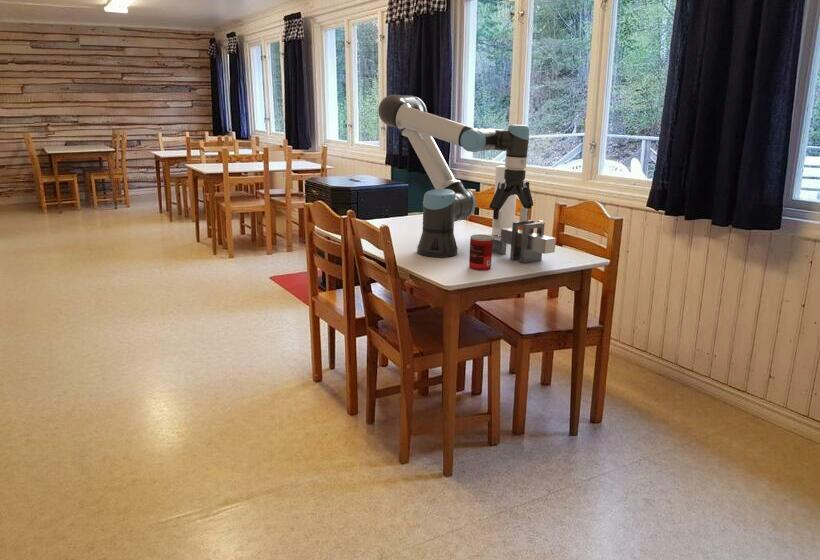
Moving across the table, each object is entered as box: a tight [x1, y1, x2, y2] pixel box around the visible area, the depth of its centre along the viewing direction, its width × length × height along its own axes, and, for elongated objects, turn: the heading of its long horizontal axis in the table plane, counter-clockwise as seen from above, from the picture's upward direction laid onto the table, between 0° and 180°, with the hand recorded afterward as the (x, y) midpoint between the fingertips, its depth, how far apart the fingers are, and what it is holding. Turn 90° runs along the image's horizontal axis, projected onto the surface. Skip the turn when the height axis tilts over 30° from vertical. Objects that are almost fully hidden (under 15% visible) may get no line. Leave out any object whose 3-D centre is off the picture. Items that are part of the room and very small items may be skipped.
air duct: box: [500, 228, 557, 255], centre depth 224 cm, size 22×5×5 cm, turn 36°
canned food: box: [468, 234, 493, 271], centre depth 212 cm, size 8×8×11 cm
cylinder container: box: [491, 164, 517, 237], centre depth 266 cm, size 9×9×30 cm
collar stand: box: [509, 219, 546, 265], centre depth 224 cm, size 12×7×14 cm, turn 126°
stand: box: [492, 236, 508, 255], centre depth 238 cm, size 2×11×5 cm, turn 36°
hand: (509, 226), depth 229 cm, fingers open, 13 cm apart
